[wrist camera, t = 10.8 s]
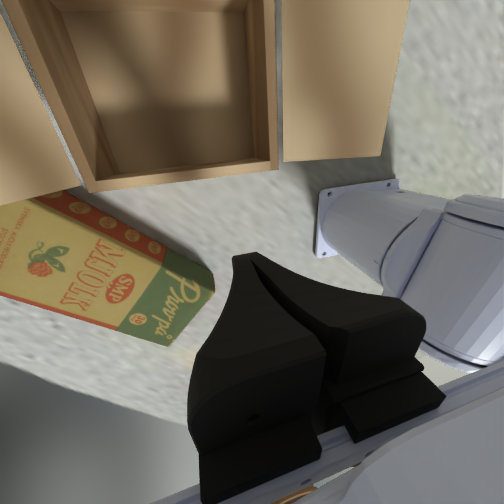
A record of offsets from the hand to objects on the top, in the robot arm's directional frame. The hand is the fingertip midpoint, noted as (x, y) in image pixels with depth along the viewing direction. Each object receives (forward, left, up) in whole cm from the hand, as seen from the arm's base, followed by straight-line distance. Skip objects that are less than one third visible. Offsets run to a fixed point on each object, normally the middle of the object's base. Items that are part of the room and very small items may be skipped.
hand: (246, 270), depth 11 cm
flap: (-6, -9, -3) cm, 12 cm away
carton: (+11, +4, -11) cm, 16 cm away
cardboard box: (+2, -9, -10) cm, 14 cm away
